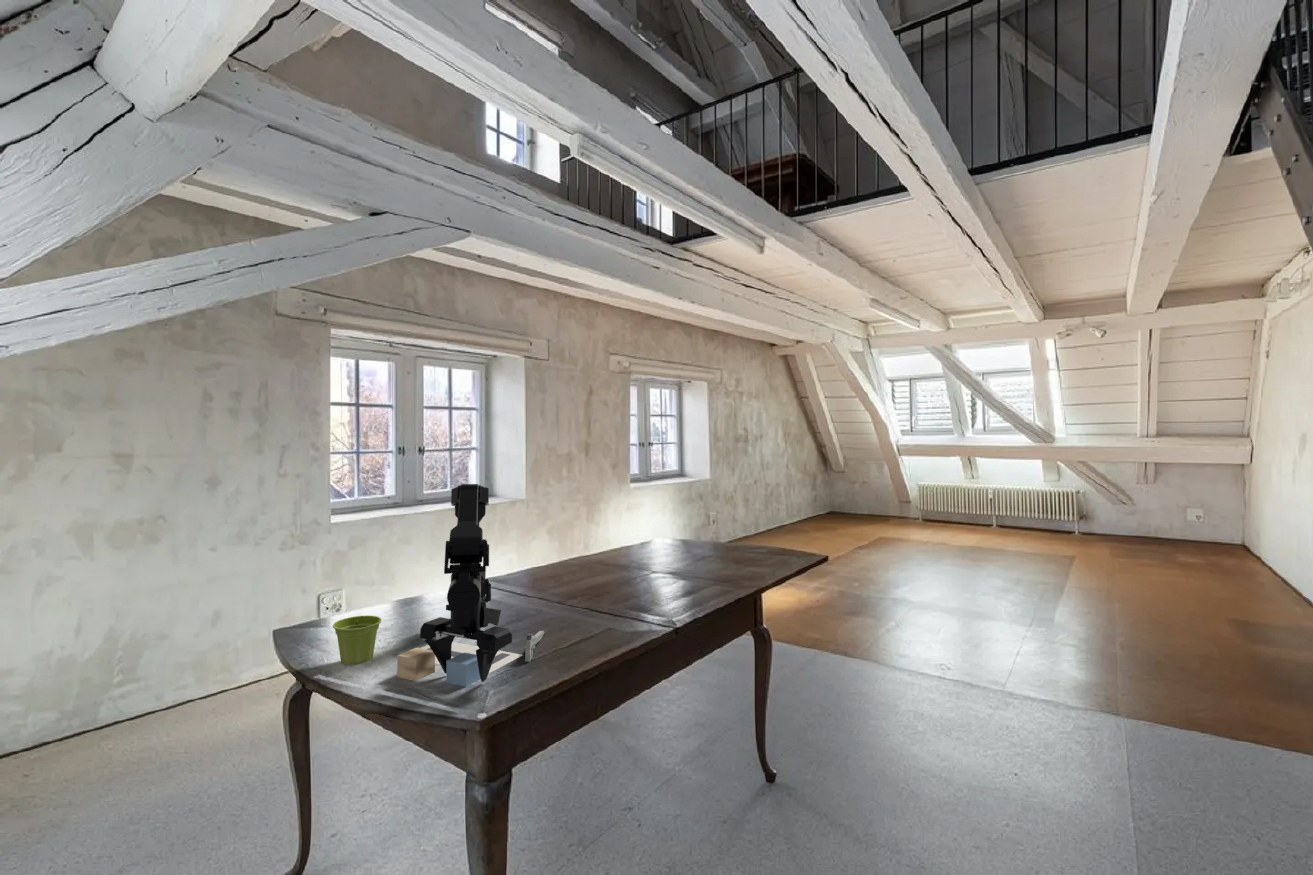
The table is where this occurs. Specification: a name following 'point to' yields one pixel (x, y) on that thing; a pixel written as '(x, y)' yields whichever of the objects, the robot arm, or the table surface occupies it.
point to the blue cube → (462, 670)
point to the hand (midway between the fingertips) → (465, 676)
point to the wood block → (415, 664)
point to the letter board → (458, 648)
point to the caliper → (532, 644)
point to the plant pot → (356, 638)
